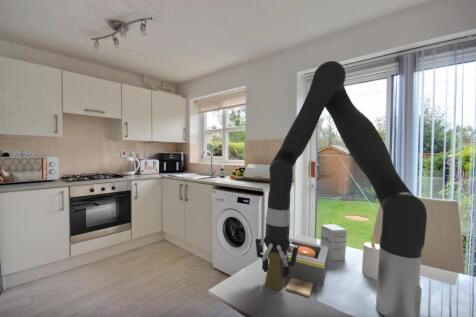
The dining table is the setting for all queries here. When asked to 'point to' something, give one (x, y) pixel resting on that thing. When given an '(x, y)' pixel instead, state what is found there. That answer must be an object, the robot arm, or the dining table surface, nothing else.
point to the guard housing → (309, 263)
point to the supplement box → (334, 241)
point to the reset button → (306, 252)
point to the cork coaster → (299, 287)
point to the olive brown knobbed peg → (275, 272)
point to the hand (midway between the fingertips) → (275, 273)
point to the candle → (371, 259)
